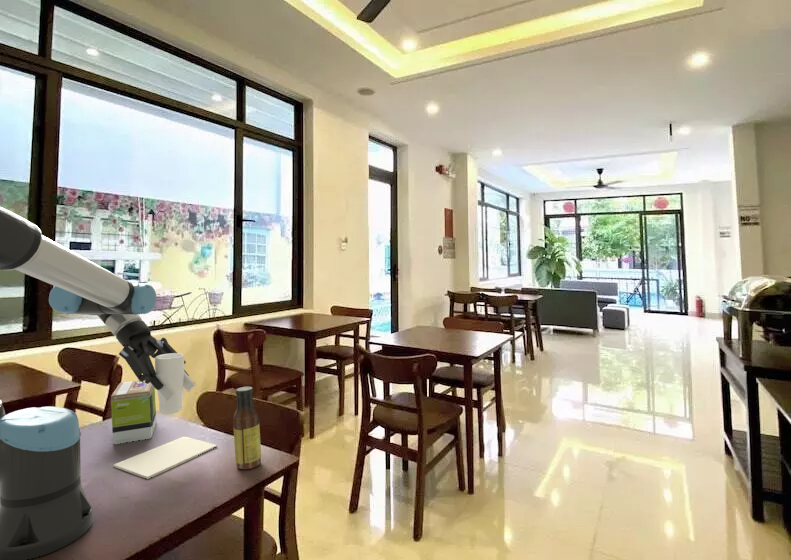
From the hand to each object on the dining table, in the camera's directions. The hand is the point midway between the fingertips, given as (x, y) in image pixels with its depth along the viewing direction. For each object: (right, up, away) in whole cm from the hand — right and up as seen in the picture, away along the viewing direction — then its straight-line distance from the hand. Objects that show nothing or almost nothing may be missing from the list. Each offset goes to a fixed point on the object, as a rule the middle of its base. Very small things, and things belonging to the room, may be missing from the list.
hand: (181, 392), depth 110 cm
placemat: (-5, -18, +2) cm, 19 cm away
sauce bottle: (+18, -18, -3) cm, 26 cm away
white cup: (-3, -6, +1) cm, 7 cm away
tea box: (-24, -18, +19) cm, 35 cm away
